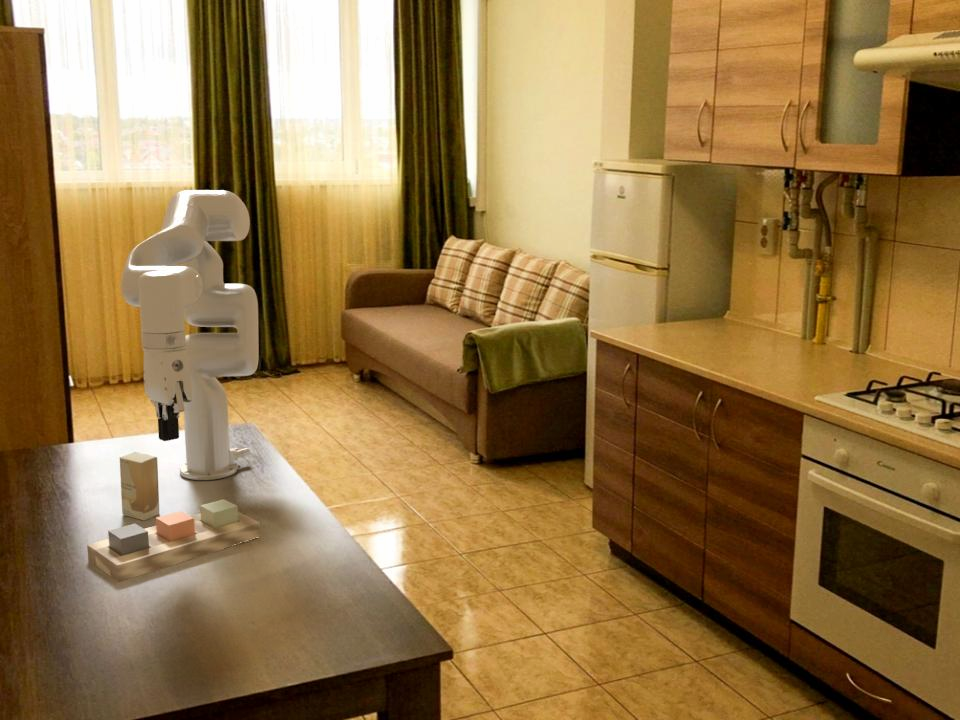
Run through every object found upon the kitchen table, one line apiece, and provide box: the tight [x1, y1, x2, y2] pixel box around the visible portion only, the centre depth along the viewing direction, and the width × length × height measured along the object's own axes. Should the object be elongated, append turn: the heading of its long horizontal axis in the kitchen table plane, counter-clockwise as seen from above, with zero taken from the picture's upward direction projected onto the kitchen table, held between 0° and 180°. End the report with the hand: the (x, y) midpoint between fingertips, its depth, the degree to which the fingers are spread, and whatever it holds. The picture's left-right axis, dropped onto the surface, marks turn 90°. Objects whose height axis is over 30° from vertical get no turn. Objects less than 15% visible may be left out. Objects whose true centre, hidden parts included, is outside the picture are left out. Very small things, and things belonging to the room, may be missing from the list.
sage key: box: [199, 498, 239, 529], centre depth 193 cm, size 5×5×4 cm
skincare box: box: [119, 451, 160, 521], centre depth 202 cm, size 6×4×12 cm
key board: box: [86, 511, 261, 583], centre depth 187 cm, size 28×12×3 cm, turn 134°
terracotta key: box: [155, 510, 195, 542], centre depth 187 cm, size 5×5×4 cm
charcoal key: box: [107, 523, 149, 556], centre depth 181 cm, size 5×5×4 cm
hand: (169, 438), depth 187 cm, fingers closed
